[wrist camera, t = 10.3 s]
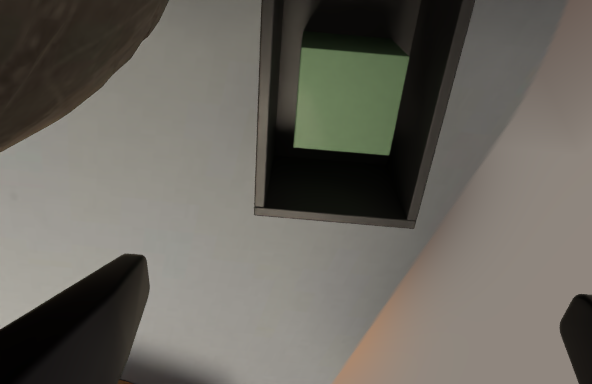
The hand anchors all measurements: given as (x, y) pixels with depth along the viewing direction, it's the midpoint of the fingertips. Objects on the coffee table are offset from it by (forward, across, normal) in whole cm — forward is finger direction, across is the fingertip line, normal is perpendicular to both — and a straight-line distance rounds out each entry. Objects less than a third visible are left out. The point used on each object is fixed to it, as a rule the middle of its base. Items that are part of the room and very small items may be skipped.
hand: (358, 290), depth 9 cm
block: (+12, 0, -2) cm, 12 cm away
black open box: (+13, 0, -2) cm, 13 cm away
